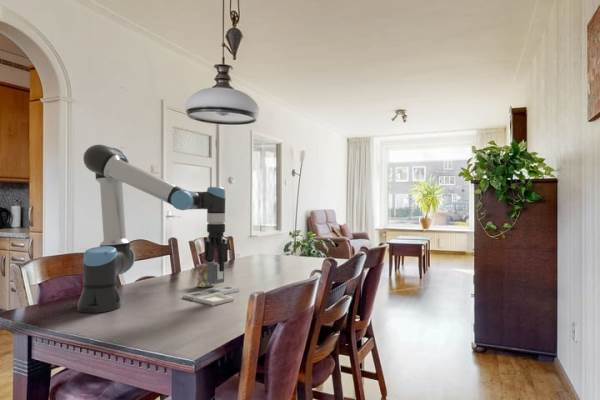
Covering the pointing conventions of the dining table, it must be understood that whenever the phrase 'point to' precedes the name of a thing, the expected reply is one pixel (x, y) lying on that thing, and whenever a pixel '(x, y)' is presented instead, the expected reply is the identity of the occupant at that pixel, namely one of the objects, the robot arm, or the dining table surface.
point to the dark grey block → (213, 274)
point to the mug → (202, 276)
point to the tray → (214, 299)
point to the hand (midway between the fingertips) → (215, 278)
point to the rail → (218, 290)
